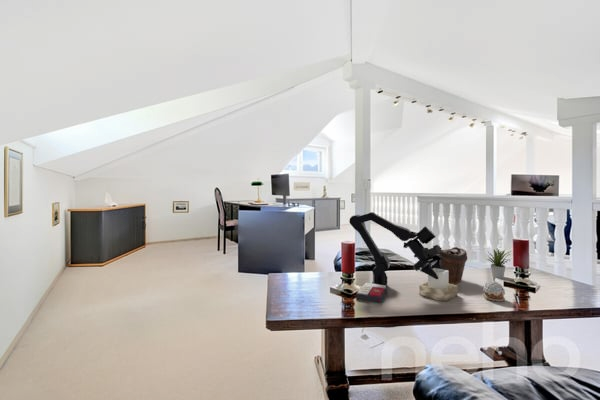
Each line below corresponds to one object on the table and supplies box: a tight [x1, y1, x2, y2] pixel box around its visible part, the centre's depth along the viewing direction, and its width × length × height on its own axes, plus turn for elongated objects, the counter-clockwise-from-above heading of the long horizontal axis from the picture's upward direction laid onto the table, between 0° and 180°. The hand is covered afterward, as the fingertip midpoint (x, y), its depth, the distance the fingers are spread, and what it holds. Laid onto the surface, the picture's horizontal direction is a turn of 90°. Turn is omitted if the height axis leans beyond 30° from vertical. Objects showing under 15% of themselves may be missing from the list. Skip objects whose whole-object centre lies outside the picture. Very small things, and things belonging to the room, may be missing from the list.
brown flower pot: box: [434, 247, 468, 284], centre depth 164 cm, size 18×20×18 cm
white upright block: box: [427, 268, 450, 291], centre depth 141 cm, size 6×6×10 cm
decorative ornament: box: [483, 265, 506, 302], centre depth 135 cm, size 8×8×15 cm
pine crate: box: [418, 281, 458, 302], centre depth 141 cm, size 12×12×4 cm
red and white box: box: [355, 282, 388, 304], centre depth 141 cm, size 11×4×15 cm
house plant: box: [486, 247, 514, 279], centre depth 168 cm, size 14×14×16 cm
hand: (441, 277), depth 140 cm, fingers closed on white upright block, 6 cm apart
